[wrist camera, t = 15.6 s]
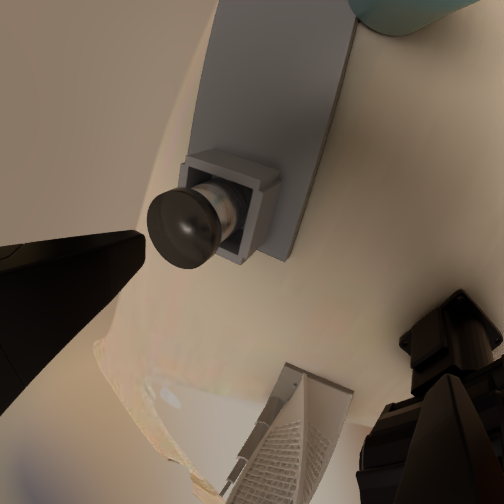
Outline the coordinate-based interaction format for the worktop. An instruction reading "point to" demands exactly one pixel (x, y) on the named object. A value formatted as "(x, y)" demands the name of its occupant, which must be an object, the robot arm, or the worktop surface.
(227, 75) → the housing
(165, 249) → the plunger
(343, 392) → the skyscraper
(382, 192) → the worktop surface
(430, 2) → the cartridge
